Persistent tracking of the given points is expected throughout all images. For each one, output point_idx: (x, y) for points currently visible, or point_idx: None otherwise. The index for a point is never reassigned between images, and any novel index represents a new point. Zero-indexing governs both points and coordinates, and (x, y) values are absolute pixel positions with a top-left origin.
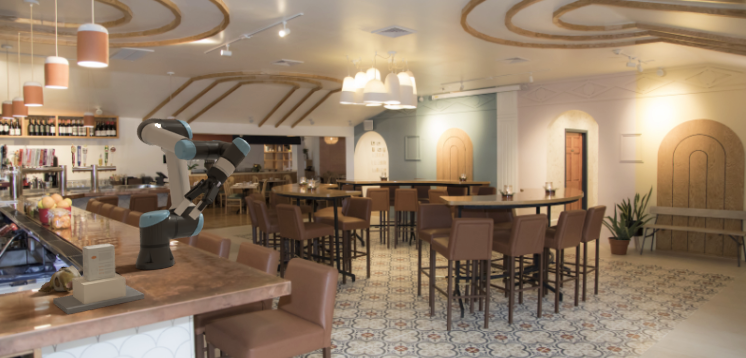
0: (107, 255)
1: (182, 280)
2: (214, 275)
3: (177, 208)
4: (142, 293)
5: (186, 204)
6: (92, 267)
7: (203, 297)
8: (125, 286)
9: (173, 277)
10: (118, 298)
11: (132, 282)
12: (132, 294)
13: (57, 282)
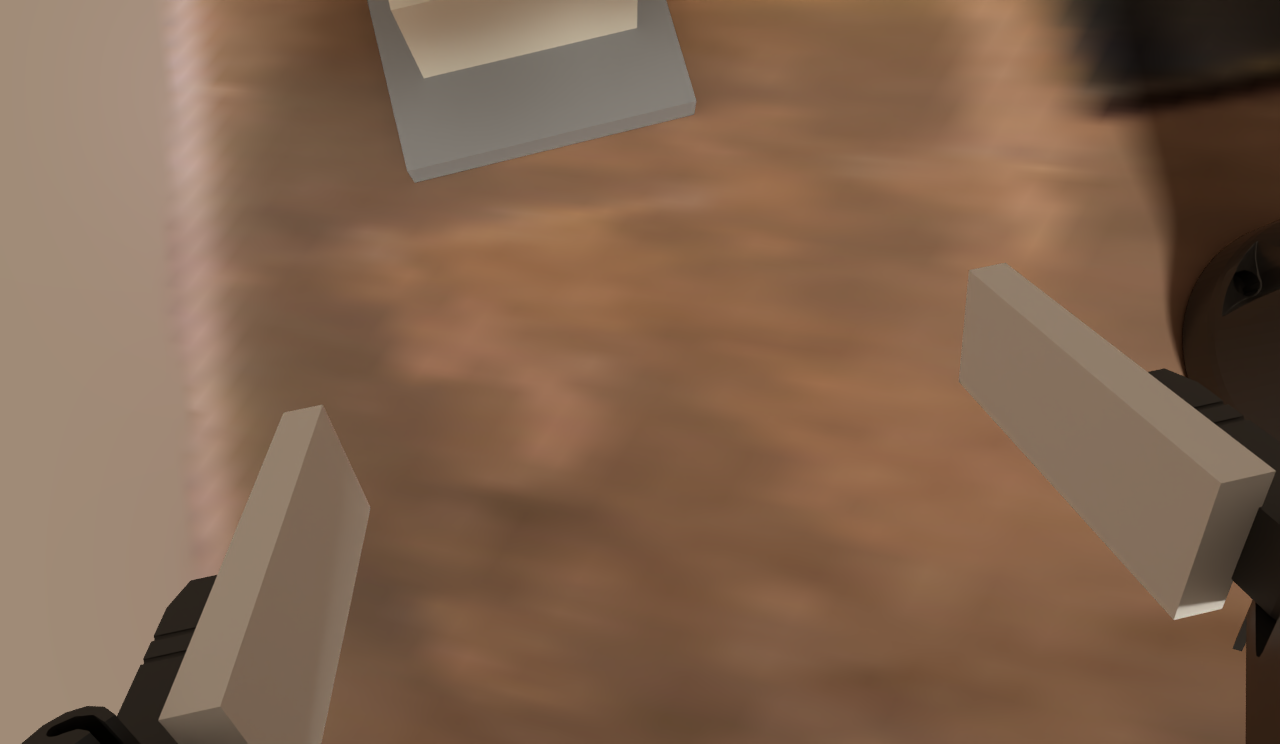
0: None
1: (739, 456)
2: (773, 700)
3: (1014, 311)
4: (424, 163)
5: (1113, 498)
6: None
7: (224, 493)
8: (407, 44)
9: (862, 415)
10: (390, 39)
11: (853, 161)
12: (434, 112)
13: None
